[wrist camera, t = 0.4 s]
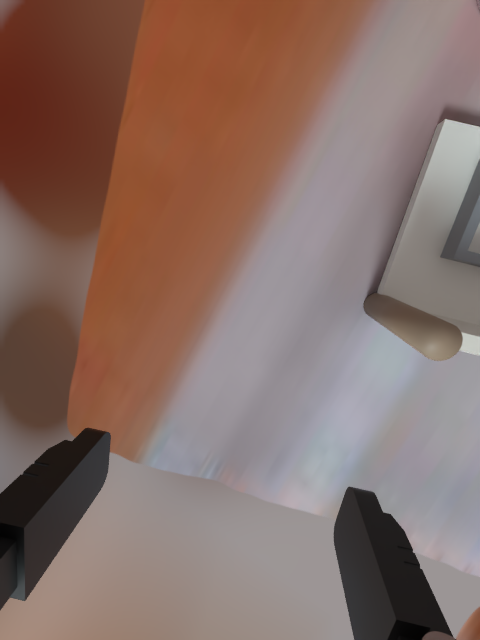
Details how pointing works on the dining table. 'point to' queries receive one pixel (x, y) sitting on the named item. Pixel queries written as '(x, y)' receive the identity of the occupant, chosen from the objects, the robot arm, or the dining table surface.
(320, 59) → the dining table surface
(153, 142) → the dining table surface
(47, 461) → the robot arm
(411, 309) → the post stand
